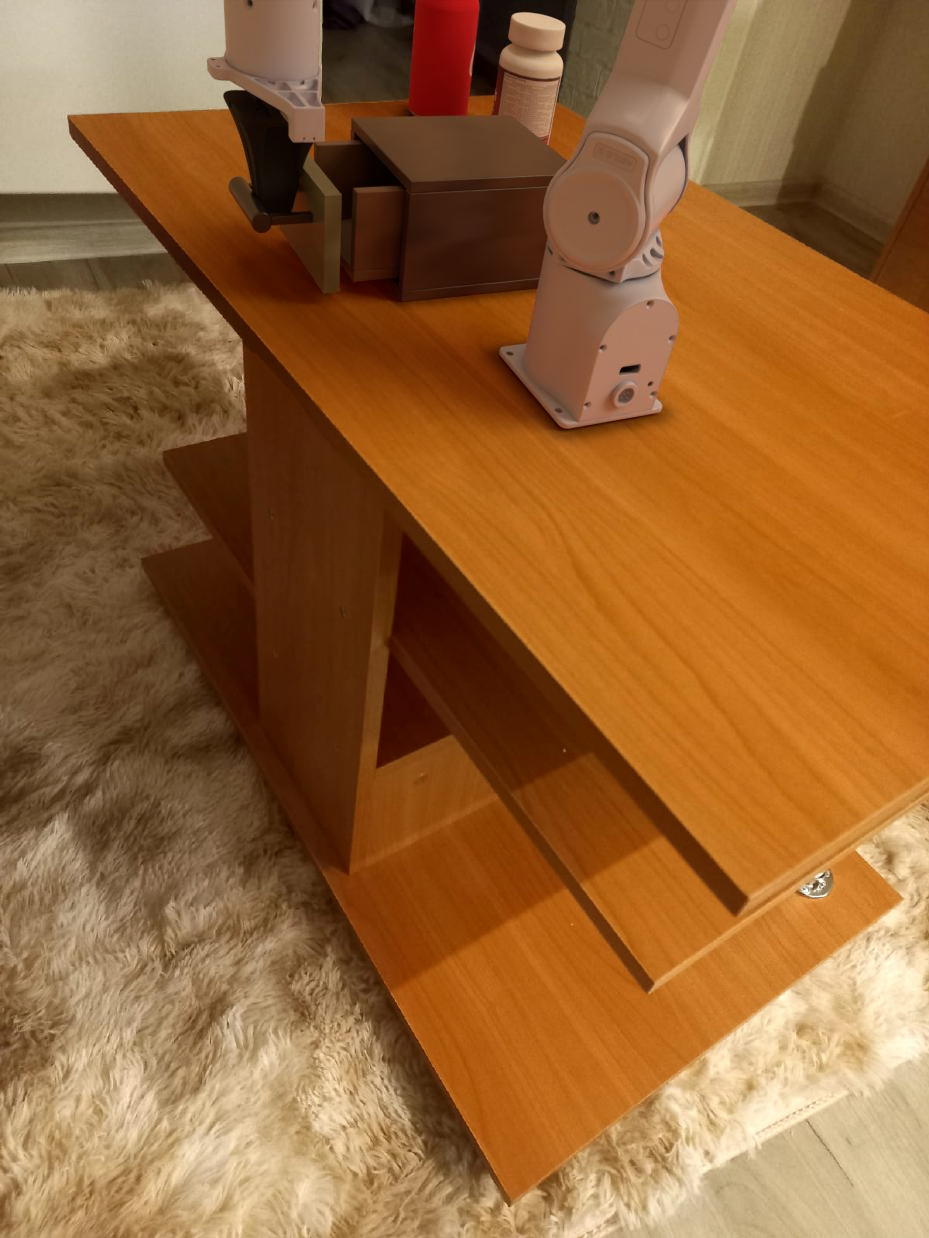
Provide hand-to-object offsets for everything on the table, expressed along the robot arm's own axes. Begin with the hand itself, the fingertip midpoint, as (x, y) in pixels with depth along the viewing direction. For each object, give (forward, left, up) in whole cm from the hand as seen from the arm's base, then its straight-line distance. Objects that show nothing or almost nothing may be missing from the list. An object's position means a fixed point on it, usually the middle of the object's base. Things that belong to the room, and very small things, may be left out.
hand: (274, 211), depth 62 cm
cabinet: (0, -14, -5) cm, 15 cm away
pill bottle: (+21, -31, -5) cm, 38 cm away
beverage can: (+30, -26, -5) cm, 40 cm away
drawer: (0, -6, -4) cm, 7 cm away
